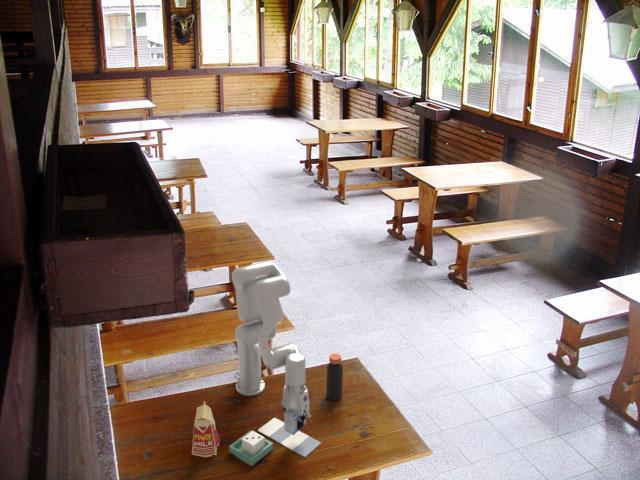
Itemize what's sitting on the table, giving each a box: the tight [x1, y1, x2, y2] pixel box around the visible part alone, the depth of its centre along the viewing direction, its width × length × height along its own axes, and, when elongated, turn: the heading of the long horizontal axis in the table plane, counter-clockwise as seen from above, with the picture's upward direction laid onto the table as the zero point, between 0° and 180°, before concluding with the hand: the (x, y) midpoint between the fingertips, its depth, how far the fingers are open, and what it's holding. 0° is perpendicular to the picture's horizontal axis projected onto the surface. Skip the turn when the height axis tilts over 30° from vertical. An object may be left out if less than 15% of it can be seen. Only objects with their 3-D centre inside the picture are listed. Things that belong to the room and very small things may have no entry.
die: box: [242, 430, 266, 457], centre depth 240 cm, size 6×6×6 cm
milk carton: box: [191, 400, 221, 458], centre depth 238 cm, size 9×9×20 cm
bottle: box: [325, 353, 344, 402], centre depth 270 cm, size 7×7×20 cm
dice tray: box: [228, 430, 274, 467], centre depth 241 cm, size 12×12×3 cm
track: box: [257, 417, 322, 458], centre depth 249 cm, size 24×10×1 cm, turn 52°
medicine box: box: [283, 410, 307, 435], centre depth 243 cm, size 8×4×9 cm, turn 143°
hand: (295, 424), depth 245 cm, fingers closed on medicine box, 4 cm apart
